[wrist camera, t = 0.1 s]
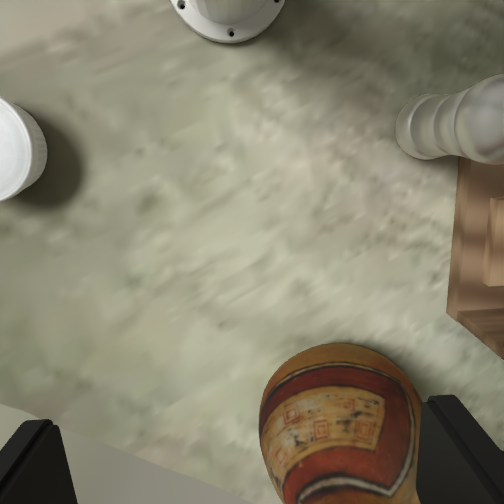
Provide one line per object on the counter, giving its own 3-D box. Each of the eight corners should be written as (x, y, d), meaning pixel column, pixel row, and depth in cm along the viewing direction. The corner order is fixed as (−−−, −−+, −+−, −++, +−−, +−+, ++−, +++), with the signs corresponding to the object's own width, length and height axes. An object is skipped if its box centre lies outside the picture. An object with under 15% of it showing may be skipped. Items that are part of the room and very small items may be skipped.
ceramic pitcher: (258, 327, 49) (276, 587, 21) (413, 329, 50) (640, 585, 21) (255, 451, 55) (266, 791, 26) (394, 451, 55) (555, 788, 27)
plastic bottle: (405, 169, 44) (528, 192, 25) (377, 117, 42) (487, 98, 23) (456, 138, 43) (624, 135, 24) (430, 83, 42) (589, 34, 22)
